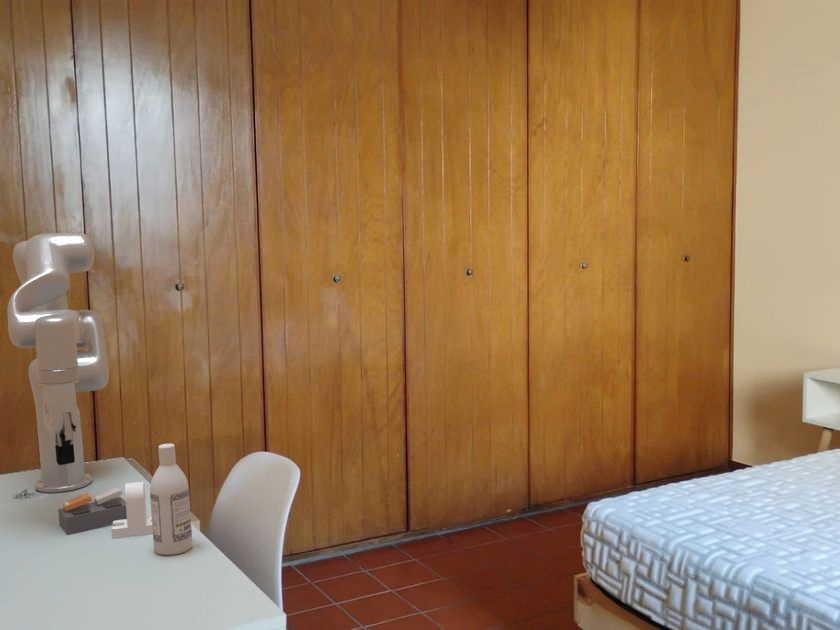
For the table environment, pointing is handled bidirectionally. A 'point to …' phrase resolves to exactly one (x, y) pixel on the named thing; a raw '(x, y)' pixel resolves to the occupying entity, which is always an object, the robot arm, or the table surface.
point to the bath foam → (170, 505)
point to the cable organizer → (133, 514)
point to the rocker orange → (77, 502)
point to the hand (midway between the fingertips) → (65, 462)
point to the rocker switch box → (92, 515)
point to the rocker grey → (108, 495)
